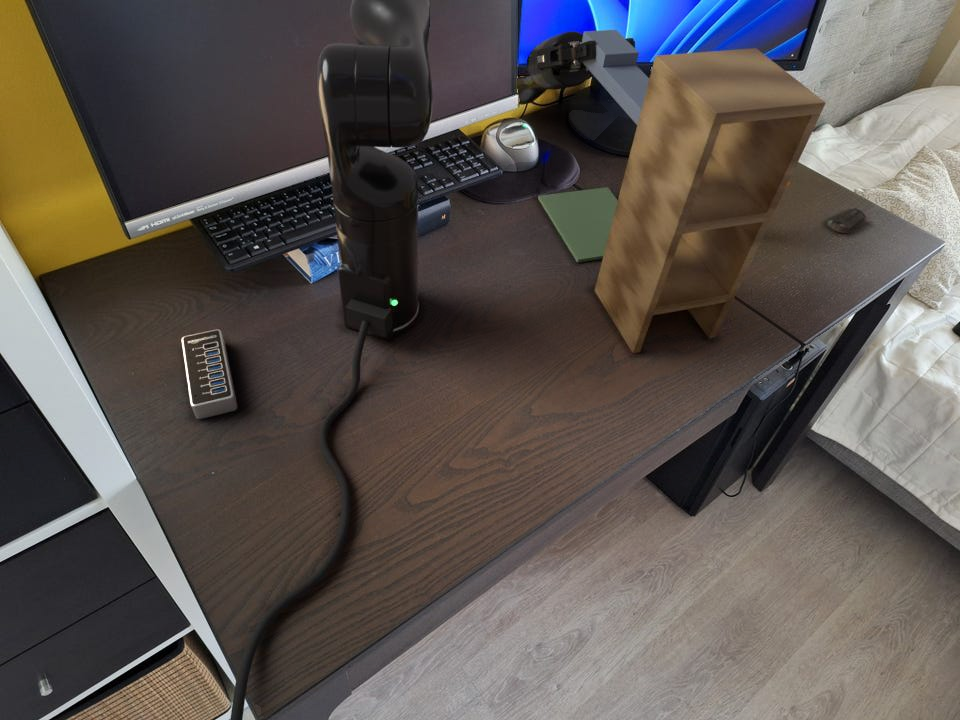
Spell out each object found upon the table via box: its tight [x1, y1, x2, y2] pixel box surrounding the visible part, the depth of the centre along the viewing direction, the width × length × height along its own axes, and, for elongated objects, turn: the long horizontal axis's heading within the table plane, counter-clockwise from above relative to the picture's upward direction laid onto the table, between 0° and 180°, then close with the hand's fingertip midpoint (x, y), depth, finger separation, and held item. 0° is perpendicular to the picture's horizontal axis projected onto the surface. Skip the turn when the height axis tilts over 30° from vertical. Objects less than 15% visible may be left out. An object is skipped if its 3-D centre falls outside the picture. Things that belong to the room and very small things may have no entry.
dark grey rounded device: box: [827, 208, 867, 234], centre depth 105 cm, size 4×6×2 cm, turn 130°
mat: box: [537, 186, 618, 264], centre depth 101 cm, size 16×12×1 cm
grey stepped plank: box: [580, 29, 650, 126], centre depth 84 cm, size 21×5×4 cm, turn 17°
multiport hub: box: [181, 329, 238, 420], centre depth 76 cm, size 4×11×2 cm, turn 22°
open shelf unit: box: [594, 47, 827, 354], centre depth 77 cm, size 12×12×32 cm
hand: (612, 48), depth 87 cm, fingers closed on grey stepped plank, 4 cm apart
